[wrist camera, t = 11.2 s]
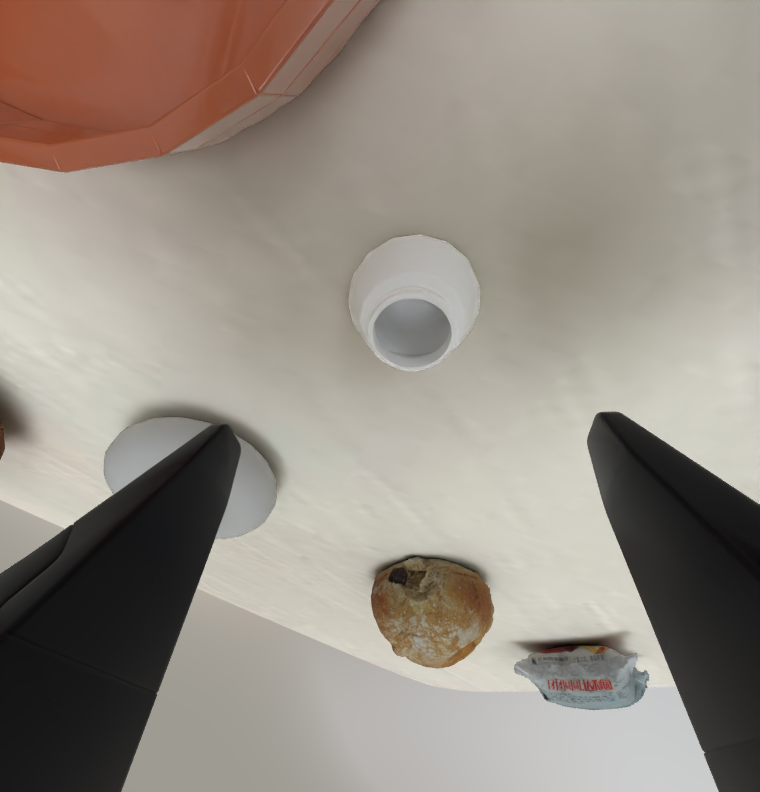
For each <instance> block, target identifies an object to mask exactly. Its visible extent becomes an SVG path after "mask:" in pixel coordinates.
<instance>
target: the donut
mask: <svg viewBox="0 0 760 792" xmlns="http://www.w3.org/2000/svg"><path fill="white" fill-rule="evenodd" d="M210 425H212V424H211V423H209V422H204V421H199V420H194V419H190V418H185V417H163V418H152V419H149V420H146V421H144V422H141V423H138V424H135V425H132V426H130V427H127V428H126V429H125V430H123V431H122V432H121V433H120V434H119V435H118V436H117V437H116V438H115V440H114V441H113V442H112V443H111V444H110V446H109V447H108V449H107V450H106V452H105V458H104V476H105V479H106V482H107V484H108V486H109V487H110V489H111V491H112V493H113V494H115V493H116V492H118V491H119V490H121V489H122V488H123V487H125V486H126V485H128V484H129V483H130V482H132V481H133V480H134V479H136V478H137V477H139V476H140V475H141V474H143V473H144V472H146V471H147V470H148V469H150V468H151V467H153V466H154V465H155V464H157V463H158V462H160V461H161V460H162V459H164V458H165V457H167V456H168V455H169V454H171V453H172V452H174V451H175V450H176V449H178V448H179V447H181V446H182V445H183V444H185V443H186V442H188V441H189V440H190V439H192V438H193V437H195V436H196V435H197V434H199V433H200V432H201V431H203V430H204V429H206V428H207V427H208V426H210ZM235 436H236V437H237V439H238V441H239V443H240V445H241V455H240V459H239V463H238V466H237V470H236V474H235V478H234V482H233V486H232V490H231V494H230V497H229V501H228V504H227V507H226V510H225V513H224V516H223V518H222V521H221V524H220V527H219V529H218V532H217V535H216V537H215V539H227V538H233V537H239V536H242V535H244V534H246V533H248V532H250V531H252V530H254V529H256V528H258V527H259V526H260V525H262V524H263V523H264V522H265V520H266V519H267V517H268V516H269V514H270V513H271V511H272V510H273V508H274V506H275V503H276V479H275V476H274V474H273V472H272V470H271V468H270V466H269V464H268V462H267V461H266V460H265V459H264V457H263V456H262V455H261V454H260V453H259V452H258V451H257V450H256V449H255V448H254V447H253V446H252V445H251V444H249V443H248V442H246V441H245V440H243V439H242V438H240V437H238V436H237V435H235Z"/></svg>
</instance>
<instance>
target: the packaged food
mask: <svg viewBox="0 0 760 792" xmlns="http://www.w3.org/2000/svg"><path fill="white" fill-rule="evenodd" d="M636 661H637V654H632V655H628V657H625V656H624V655H622V654H620V653H619V652H617V651H616V650H613V649H611V648H608V647H605V646H565V647H559V648H553V649H549V650H544V651H541V652H537V653H534V654H531V655H529V656H528V658H527V659H525V660H523V659H522V660H521V661H520V662H517V663H516V664H515V666H514V670H515V673H516V674H519V675H522V676H525V677H526V678H529V679H530V680H531V682H533V683H534V684H535V685H536V686H537V687H538V688H539V690H540V692H541V693H542V695H543V697H544V699H546V700H547V701H549V702H552V703H556V704H559V705H562V706H565V707H572V708H580V709H589V710H600V709H614V708H623V707H628V706H631V705H633V704H634V703H636V702H638V701H639V700H640V699H641V698H642V696H643V694H644V692H645V688H648V687H647V685H646V681H649V674H648V673H647V671H646V670H645V671H644V672H640V671H638V670H637V669H636V668H635V667H634V666H635V665H636Z"/></svg>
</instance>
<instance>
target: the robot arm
mask: <svg viewBox="0 0 760 792" xmlns="http://www.w3.org/2000/svg"><path fill="white" fill-rule="evenodd" d="M587 444H588V450H589V453H590V457H591V461H592V464H593V468H594V472H595V475H596V479H597V483H598V487H599V490H600V494H601V498H602V501H603V504H604V508H605V510H606V513H607V516H608V518H609V521H610V523H611V526H612V528H613V531H614V533H615V536H616V538H617V541H618V543H619V546H620V548H621V550H622V553H623V555H624V558H625V560H626V563H627V565H628V568H629V570H630V573H631V575H632V578H633V580H634V583H635V585H636V587H637V590H638V592H639V595H640V597H641V600H642V602H643V605H644V607H645V610H646V612H647V615H648V617H649V620H650V622H651V624H652V627H653V629H654V632H655V634H656V637H657V639H658V642H659V644H660V647H661V649H662V652H663V654H664V657H665V659H666V661H667V664H668V666H669V669H670V671H671V674H672V676H673V679H674V681H675V684H676V686H677V689H678V691H679V694H680V696H681V698H682V701H683V703H684V706H685V708H686V711H687V713H688V716H689V718H690V720H691V723H692V726H693V728H694V731H695V733H696V735H697V738H698V740H699V743H700V745H701V748H702V750H703V751H704V752H705V753H704V756H705V758H706V761H707V763H708V766H709V768H710V771H711V773H712V776H713V778H714V781H715V783H716V786H717V788H718V790H719V792H760V505H759V504H758V503H756V502H755V501H753V500H752V499H750V498H749V497H747V496H746V495H744V494H743V493H741V492H740V491H738V490H737V489H735V488H734V487H732V486H731V485H729V484H728V483H726V482H725V481H723V480H722V479H720V478H719V477H717V476H716V475H714V474H712V473H711V472H709V471H708V470H706V469H705V468H703V467H702V466H700V465H699V464H697V463H696V462H694V461H693V460H691V459H690V458H688V457H687V456H685V455H684V454H682V453H681V452H679V451H678V450H676V449H675V448H673V447H672V446H670V445H669V444H667V443H666V442H664V441H663V440H661V439H660V438H658V437H657V436H655V435H654V434H652V433H650V432H649V431H647V430H646V429H644V428H643V427H641V426H640V425H638V424H637V423H635V422H634V421H632V420H631V419H629V418H628V417H626V416H625V415H623V414H622V413H620V412H600V413H598V414H597V415H596V416H595V418H594V421H593V424H592V427H591V429H590V432H589V435H588V439H587ZM240 455H241V445H240V443H239V441H238V439H237V437H236V436H235V434H234V432H233V430H232V429H231V427H230V426H229V425H228V424H212V425H210V426H208V427H207V428H206V429H204V430H203V431H201V432H200V433H199V434H197V435H196V436H195V437H193V438H192V439H190V440H189V441H188V442H186V443H185V444H183V445H182V446H181V447H179V448H178V449H176V450H175V451H174V452H172V453H171V454H169V455H168V456H167V457H165V458H164V459H162V460H161V461H160V462H158V463H157V464H155V465H154V466H153V467H151V468H150V469H148V470H147V471H146V472H144V473H143V474H141V475H140V476H139V477H137V478H136V479H134V480H133V481H132V482H130V483H129V484H128V485H126V486H125V487H123V488H122V489H121V490H119V491H118V492H116V493H115V494H114V495H112V496H111V497H109V498H108V499H107V500H105V501H104V502H102V503H101V504H100V505H98V506H97V507H95V508H94V509H93V510H91V511H90V512H88V513H87V514H86V515H84V516H83V517H81V518H80V519H79V520H77V521H76V522H75V523H74V525H70V526H69V527H67V528H66V529H65V530H63V531H62V532H61V533H59V534H58V535H56V536H55V537H54V538H52V539H51V540H49V541H48V542H46V543H45V544H43V545H42V546H41V547H39V548H38V549H36V550H35V551H33V552H32V553H31V554H29V555H28V556H26V557H25V558H23V559H22V560H20V561H19V562H17V563H16V564H14V565H13V566H11V567H10V568H8V569H7V570H5V571H4V572H2V573H1V574H0V792H121V791H122V788H123V785H124V783H125V780H126V777H127V775H128V772H129V769H130V766H131V764H132V761H133V758H134V755H135V753H136V750H137V748H138V745H139V742H140V740H141V737H142V734H143V731H144V729H145V726H146V723H147V721H148V718H149V715H150V713H151V710H152V707H153V705H154V702H155V699H156V696H157V692H158V691H159V687H160V685H161V682H162V680H163V677H164V674H165V672H166V669H167V666H168V664H169V661H170V658H171V655H172V653H173V650H174V647H175V645H176V642H177V639H178V637H179V634H180V631H181V629H182V626H183V623H184V621H185V618H186V615H187V613H188V610H189V607H190V604H191V602H192V599H193V596H194V594H195V591H196V588H197V586H198V583H199V580H200V578H201V575H202V572H203V570H204V567H205V564H206V561H207V559H208V556H209V553H210V551H211V548H212V545H213V543H214V540H215V537H216V535H217V532H218V529H219V527H220V524H221V521H222V518H223V516H224V513H225V510H226V507H227V504H228V501H229V497H230V494H231V490H232V486H233V482H234V478H235V474H236V470H237V466H238V463H239V459H240Z"/></svg>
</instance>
